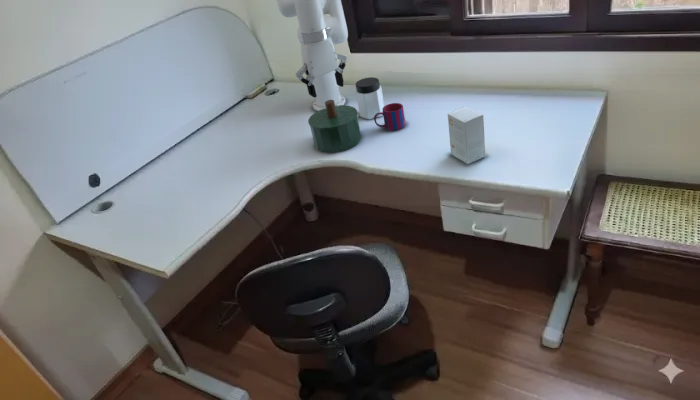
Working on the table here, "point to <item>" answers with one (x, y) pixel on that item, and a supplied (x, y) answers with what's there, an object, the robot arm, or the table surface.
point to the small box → (466, 134)
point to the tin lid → (332, 116)
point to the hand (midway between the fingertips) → (327, 90)
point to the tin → (337, 137)
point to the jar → (369, 97)
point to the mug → (392, 117)
